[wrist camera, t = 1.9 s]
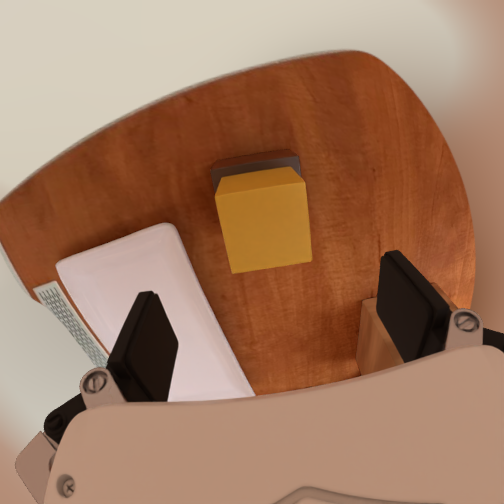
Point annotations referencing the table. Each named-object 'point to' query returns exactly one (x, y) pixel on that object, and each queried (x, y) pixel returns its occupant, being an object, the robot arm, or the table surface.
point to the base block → (254, 164)
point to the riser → (380, 339)
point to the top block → (264, 219)
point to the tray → (173, 300)
